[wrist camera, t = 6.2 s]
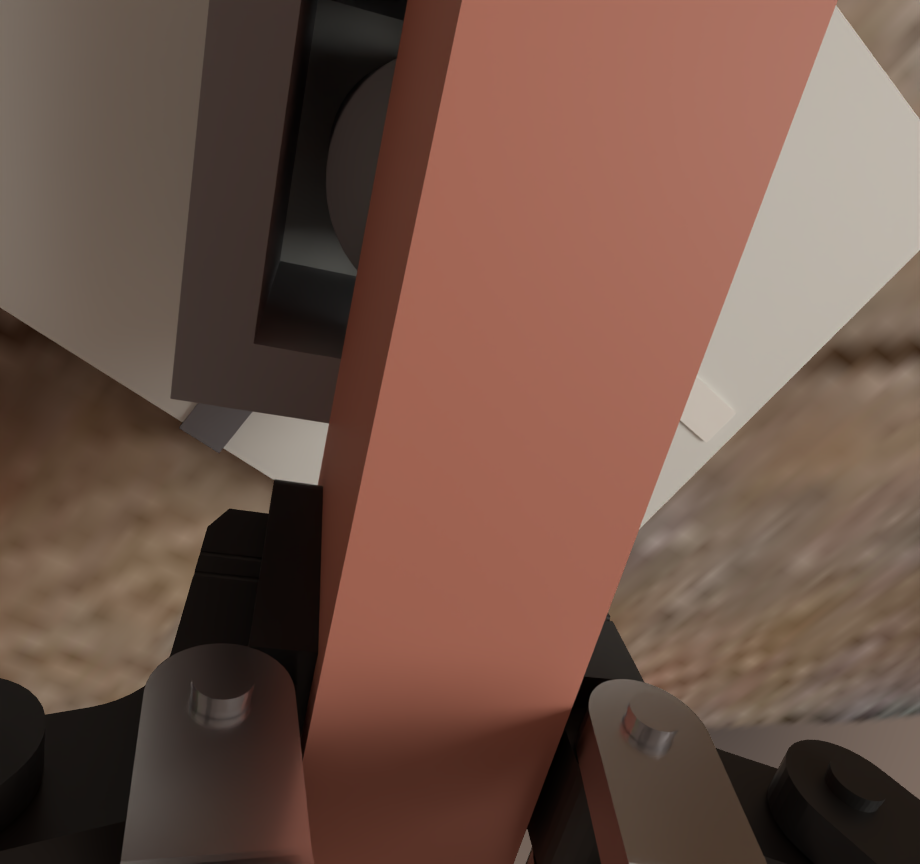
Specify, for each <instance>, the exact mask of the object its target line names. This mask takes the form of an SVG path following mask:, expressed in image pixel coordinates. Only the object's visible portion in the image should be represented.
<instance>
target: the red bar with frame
mask: <svg viewBox="0 0 920 864" xmlns="http://www.w3.org/2000/svg"><path fill="white" fill-rule="evenodd" d="M332 1H335V2H339V3H342V4H346V5H349V6H353V7H356V8H360V9H363V10H367V11H371V12H374V13H378V14H381V15H385V16H388V17H392V18H395V19H399V20H402V21H404V22H403V27H402V33H401V38H400V43H399V49H398V54H397V60H396V65H395V70H394V76H393V81H392V87H391V92H390V97H389V103H388V108H387V114H386V119H385V124H384V130H383V135H382V141H381V146H380V151H379V157H378V162H377V168H376V173H375V178H374V184H373V189H372V194H371V200H370V205H369V211H368V216H367V221H366V227H365V232H364V238H363V243H362V248H361V254H360V259H359V265H358V270H357V275H356V276H352V275H348V274H343V273H338V272H333V271H328V270H323V269H318V268H313V267H308V266H303V265H298V264H293V263H288V262H283V261H280V257H281V251H282V244H283V237H284V230H285V223H286V216H287V209H288V203H289V196H290V189H291V182H292V175H293V168H294V161H295V155H296V148H297V141H298V134H299V127H300V120H301V114H302V107H303V100H304V93H305V86H306V79H307V72H308V66H309V59H310V52H311V45H312V38H313V31H314V24H315V18H316V11H317V4H318V0H209V8H208V18H207V28H206V38H205V49H204V59H203V69H202V79H201V90H200V100H199V110H198V120H197V130H196V141H195V151H194V161H193V171H192V182H191V192H190V202H189V212H188V222H187V233H186V243H185V253H184V263H183V274H182V284H181V294H180V304H179V314H178V325H177V335H176V345H175V355H174V366H173V376H172V386H171V396H170V399H175V400H181V401H188V402H194V403H201V404H207V405H214V406H220V407H226V408H233V409H239V410H246V411H252V412H258V413H265V414H271V415H278V416H284V417H290V418H297V419H303V420H310V421H316V422H322V423H329V426H328V432H327V437H326V443H325V448H324V453H323V459H322V464H321V470H320V475H319V480H318V485H320V486H323V510H322V544H321V577H320V611H319V644H318V656H317V661H316V666H315V671H314V676H313V681H312V686H311V690H310V695H309V700H308V705H307V710H306V715H305V720H304V725H303V730H302V734H301V739H300V742H301V752H302V762H303V771H304V781H305V790H306V800H307V810H308V819H309V829H310V838H311V848H312V855H313V860H314V863H315V864H514V861H515V858H516V856H517V853H518V850H519V848H520V845H521V842H522V839H523V837H524V834H525V831H526V829H527V826H528V824H529V821H530V818H531V816H532V813H533V810H534V808H535V805H536V802H537V800H538V797H539V794H540V792H541V789H542V786H543V784H544V781H545V778H546V776H547V773H548V770H549V768H550V765H551V762H552V760H553V757H554V754H555V752H556V749H557V746H558V744H559V741H560V738H561V736H562V733H563V731H564V728H565V725H566V723H567V720H568V717H569V715H570V712H571V709H572V707H573V704H574V701H575V699H576V696H577V693H578V691H579V688H580V685H581V683H582V680H583V677H584V675H585V672H586V669H587V667H588V664H589V661H590V659H591V656H592V653H593V651H594V648H595V645H596V643H597V640H598V637H599V635H600V632H601V629H602V627H603V624H604V621H605V619H606V616H607V613H608V611H609V608H610V605H611V603H612V600H613V597H614V595H615V592H616V589H617V587H618V584H619V581H620V579H621V576H622V573H623V571H624V568H625V565H626V563H627V560H628V557H629V555H630V552H631V549H632V547H633V544H634V541H635V539H636V536H637V533H638V531H639V528H640V525H641V523H642V520H643V517H644V515H645V512H646V509H647V507H648V504H649V501H650V499H651V496H652V494H653V491H654V488H655V486H656V483H657V480H658V478H659V475H660V472H661V470H662V467H663V464H664V462H665V459H666V456H667V454H668V451H669V448H670V446H671V443H672V440H673V438H674V435H675V432H676V430H677V427H678V424H679V422H680V419H681V416H682V414H683V411H684V408H685V406H686V403H687V400H688V398H689V395H690V392H691V390H692V387H693V384H694V382H695V379H696V376H697V374H698V371H699V368H700V366H701V363H702V360H703V358H704V355H705V352H706V350H707V347H708V344H709V342H710V339H711V336H712V334H713V331H714V328H715V326H716V323H717V320H718V318H719V315H720V312H721V310H722V307H723V304H724V302H725V299H726V296H727V294H728V291H729V288H730V286H731V283H732V280H733V278H734V275H735V272H736V270H737V267H738V264H739V262H740V259H741V256H742V254H743V251H744V249H745V246H746V243H747V241H748V238H749V235H750V233H751V230H752V227H753V225H754V222H755V219H756V217H757V214H758V211H759V209H760V206H761V203H762V201H763V198H764V195H765V193H766V190H767V187H768V185H769V182H770V179H771V177H772V174H773V171H774V169H775V166H776V163H777V161H778V158H779V155H780V153H781V150H782V147H783V145H784V142H785V139H786V137H787V134H788V131H789V129H790V126H791V123H792V121H793V118H794V115H795V113H796V110H797V107H798V105H799V102H800V99H801V97H802V94H803V91H804V89H805V86H806V83H807V81H808V78H809V75H810V73H811V70H812V67H813V65H814V62H815V59H816V57H817V54H818V51H819V49H820V46H821V43H822V41H823V38H824V35H825V33H826V30H827V27H828V25H829V22H830V19H831V17H832V14H833V12H834V9H835V6H836V4H837V1H838V0H332Z"/></svg>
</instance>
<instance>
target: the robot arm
mask: <svg viewBox="0 0 920 864" xmlns="http://www.w3.org/2000/svg"><path fill="white" fill-rule="evenodd" d="M322 510H323V486H320V485H313V484H306V483H299V482H292V481H284V480H277V479H274V485H273V491H272V497H271V503H270V509H269V514H267V513H259V512H251V511H243V510H236V509H229V510H227V511H226V512H225V513H224V514H223V515H221V516H220V517H219V518H218V519H217V520H215V521H214V522H213V523H212V524H211V525H209V526H208V527H207V531H206V534H205V538H204V541H203V545H202V548H201V552H200V555H199V558H198V562H197V565H196V569H195V574H194V576H193V579H192V583H191V586H190V589H189V593H188V596H187V600H186V603H185V607H184V610H183V614H182V617H181V620H180V624H179V627H178V631H177V634H176V638H175V641H174V645H173V648H172V651H171V655H170V657H169V658H168V659H166V660H165V661H163V662H162V663H161V664H160V665H159V666H157V668H156V669H155V670H154V671H153V672H152V674H151V675H150V677H149V679H148V681H147V682H146V685H145V686H144V687H142V688H141V689H139V690H137V691H136V692H134V693H132V694H130V695H128V696H126V697H123V698H121V699H119V700H116V701H113V702H110V703H106V704H103V705H98V706H94V707H89V708H83V709H77V710H71V711H65V712H59V713H53V714H47V715H45V713H44V710H43V707H42V705H41V703H40V702H39V700H38V699H37V697H35V696H34V695H33V694H32V693H31V692H30V691H29V690H27V689H26V688H24V687H22V686H21V685H19V684H17V683H14V682H11V681H9V680H5V679H1V678H0V864H315V863H314V860H313V855H312V848H311V838H310V829H309V819H308V810H307V800H306V790H305V781H304V771H303V762H302V752H301V742H300V739H301V734H302V730H303V725H304V720H305V715H306V710H307V705H308V700H309V695H310V690H311V686H312V681H313V676H314V671H315V666H316V661H317V656H318V644H319V611H320V577H321V544H322ZM527 829H528V832H529V836H530V840H531V844H532V848H531V851H530V853H529V856H528V859H527V861H526V864H920V800H919V799H918V798H917V797H915V796H914V795H913V794H911V793H910V792H909V791H907V790H906V789H905V788H904V787H902V786H901V785H900V784H899V783H897V782H896V781H895V780H893V779H892V778H891V777H890V776H888V775H887V774H886V773H885V772H883V771H882V770H881V769H879V768H878V767H877V766H875V765H874V764H872V763H871V762H869V761H868V760H866V759H864V758H863V757H861V756H860V755H858V754H856V753H854V752H852V751H850V750H848V749H846V748H843V747H841V746H838V745H835V744H832V743H829V742H825V741H819V740H803V741H799V742H796V743H794V744H793V745H792V746H791V747H789V749H788V751H787V753H786V755H785V757H784V758H783V760H782V762H781V764H780V766H779V768H778V769H777V768H774V767H770V766H768V765H765V764H761V763H759V762H755V761H752V760H749V759H746V758H743V757H740V756H737V755H734V754H731V753H728V752H725V751H723V750H720V749H717V748H715V746H714V743H713V741H712V739H711V737H710V734H709V732H708V731H707V729H706V727H705V725H704V724H703V723H702V721H701V720H700V718H699V717H698V716H697V715H696V714H695V713H694V712H693V711H692V710H691V709H690V708H689V707H688V706H687V705H685V704H684V703H683V702H682V701H680V700H679V699H678V698H676V697H675V696H673V695H671V694H670V693H668V692H666V691H664V690H662V689H660V688H658V687H656V686H653V685H650V684H647V683H645V682H644V681H643V679H642V677H641V675H640V673H639V671H638V669H637V667H636V665H635V663H634V661H633V659H632V658H631V656H630V654H629V652H628V650H627V648H626V646H625V644H624V642H623V640H622V638H621V636H620V635H619V633H618V631H617V629H616V627H615V625H614V623H613V621H610V615H609V614H608V613H607V616H606V619H605V621H604V624H603V627H602V629H601V632H600V635H599V637H598V640H597V643H596V645H595V648H594V651H593V653H592V656H591V659H590V661H589V664H588V667H587V669H586V672H585V675H584V677H583V680H582V683H581V685H580V688H579V691H578V693H577V696H576V699H575V701H574V704H573V707H572V709H571V712H570V715H569V717H568V720H567V723H566V725H565V728H564V731H563V733H562V736H561V738H560V741H559V744H558V746H557V749H556V752H555V754H554V757H553V760H552V762H551V765H550V768H549V770H548V773H547V776H546V778H545V781H544V784H543V786H542V789H541V792H540V794H539V797H538V800H537V802H536V805H535V808H534V810H533V813H532V816H531V818H530V821H529V824H528V826H527Z"/></svg>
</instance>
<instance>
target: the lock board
mask: <svg viewBox="0 0 920 864" xmlns="http://www.w3.org/2000/svg"><path fill="white" fill-rule="evenodd" d="M208 8H209V0H0V308H2V309H3V310H5V311H6V312H8V313H10V314H11V315H13V316H14V317H16V318H17V319H19V320H21V321H22V322H24V323H25V324H27V325H29V326H30V327H32V328H33V329H35V330H37V331H38V332H40V333H41V334H43V335H44V336H46V337H48V338H49V339H51V340H52V341H54V342H56V343H57V344H59V345H60V346H62V347H64V348H65V349H67V350H68V351H70V352H71V353H73V354H75V355H76V356H78V357H79V358H81V359H83V360H84V361H86V362H87V363H89V364H91V365H92V366H94V367H95V368H97V369H98V370H100V371H102V372H103V373H105V374H106V375H108V376H110V377H111V378H113V379H114V380H116V381H117V382H119V383H121V384H122V385H124V386H125V387H127V388H129V389H130V390H132V391H133V392H135V393H137V394H138V395H140V396H141V397H143V398H144V399H146V400H148V401H149V402H151V403H152V404H154V405H156V406H157V407H159V408H160V409H162V410H164V411H165V412H167V413H168V414H170V415H171V416H173V417H175V418H176V419H178V420H179V421H181V422H183V423H182V424H181V425H180V427H179V428H180V429H181V430H183V431H184V432H186V433H188V434H189V435H191V436H192V437H194V438H196V439H197V440H199V441H200V442H202V443H204V444H205V445H207V446H208V447H210V448H212V449H213V450H215V451H216V452H218V453H220V452H221V450H222V449H223V448H224V449H225V450H227V451H229V452H230V453H232V454H233V455H235V456H237V457H238V458H240V459H241V460H243V461H245V462H246V463H248V464H249V465H251V466H252V467H254V468H256V469H257V470H259V471H260V472H262V473H264V474H265V475H267V476H268V477H270V478H271V479H273V480H274V479H277V480H284V481H292V482H299V483H306V484H313V485H318V480H319V475H320V470H321V464H322V459H323V453H324V448H325V443H326V437H327V432H328V426H329V423H322V422H316V421H310V420H303V419H297V418H290V417H284V416H278V415H271V414H265V413H258V412H252V411H246V410H239V409H233V408H226V407H220V406H214V405H207V404H201V403H194V402H188V401H181V400H175V399H170V396H171V386H172V376H173V366H174V355H175V345H176V335H177V325H178V314H179V304H180V294H181V284H182V274H183V263H184V253H185V243H186V233H187V222H188V212H189V202H190V192H191V182H192V171H193V161H194V151H195V141H196V130H197V120H198V110H199V100H200V90H201V79H202V69H203V59H204V49H205V38H206V28H207V18H208ZM403 22H404V21H402V20H399V19H395V18H392V17H388V16H385V15H381V14H378V13H374V12H371V11H367V10H363V9H360V8H356V7H353V6H349V5H346V4H342V3H339V2H335V1H332V0H318V4H317V11H316V18H315V24H314V31H313V38H312V45H311V52H310V59H309V66H308V72H307V79H306V86H305V93H304V100H303V107H302V114H301V120H300V127H299V134H298V141H297V148H296V155H295V161H294V168H293V175H292V182H291V189H290V196H289V203H288V209H287V216H286V223H285V230H284V237H283V244H282V251H281V257H280V261H283V262H288V263H293V264H298V265H303V266H308V267H313V268H318V269H323V270H328V271H333V272H338V273H343V274H348V275H352V276H356V275H357V270H358V265H359V259H360V254H361V248H362V243H363V238H364V232H365V227H366V221H367V216H368V211H369V205H370V200H371V194H372V189H373V184H374V178H375V173H376V168H377V162H378V157H379V151H380V146H381V141H382V135H383V130H384V124H385V119H386V114H387V108H388V103H389V97H390V92H391V87H392V81H393V76H394V70H395V65H396V60H397V54H398V49H399V43H400V38H401V33H402V27H403ZM919 250H920V119H919V118H918V116H917V115H916V114H915V112H914V111H913V109H912V108H911V107H910V105H909V104H908V103H907V101H906V100H905V99H904V97H903V96H902V94H901V93H900V92H899V90H898V89H897V88H896V86H895V85H894V84H893V82H892V81H891V80H890V78H889V77H888V75H887V74H886V73H885V71H884V70H883V69H882V67H881V66H880V65H879V63H878V62H877V60H876V59H875V58H874V56H873V55H872V54H871V52H870V51H869V50H868V48H867V47H866V45H865V44H864V43H863V41H862V40H861V39H860V37H859V36H858V35H857V33H856V32H855V30H854V29H853V28H852V26H851V25H850V24H849V22H848V21H847V20H846V18H845V17H844V15H843V14H842V13H841V11H840V10H839V9H838V7H837V6H835V9H834V12H833V14H832V17H831V19H830V22H829V25H828V27H827V30H826V33H825V35H824V38H823V41H822V43H821V46H820V49H819V51H818V54H817V57H816V59H815V62H814V65H813V67H812V70H811V73H810V75H809V78H808V81H807V83H806V86H805V89H804V91H803V94H802V97H801V99H800V102H799V105H798V107H797V110H796V113H795V115H794V118H793V121H792V123H791V126H790V129H789V131H788V134H787V137H786V139H785V142H784V145H783V147H782V150H781V153H780V155H779V158H778V161H777V163H776V166H775V169H774V171H773V174H772V177H771V179H770V182H769V185H768V187H767V190H766V193H765V195H764V198H763V201H762V203H761V206H760V209H759V211H758V214H757V217H756V219H755V222H754V225H753V227H752V230H751V233H750V235H749V238H748V241H747V243H746V246H745V249H744V251H743V254H742V256H741V259H740V262H739V264H738V267H737V270H736V272H735V275H734V278H733V280H732V283H731V286H730V288H729V291H728V294H727V296H726V299H725V302H724V304H723V307H722V310H721V312H720V315H719V318H718V320H717V323H716V326H715V328H714V331H713V334H712V336H711V339H710V342H709V344H708V347H707V350H706V352H705V355H704V358H703V360H702V363H701V366H700V368H699V371H698V374H697V376H696V379H695V382H694V384H693V387H692V390H691V392H690V395H689V398H688V400H687V403H686V406H685V408H684V411H683V414H682V416H681V419H680V422H679V424H678V427H677V430H676V432H675V435H674V438H673V440H672V443H671V446H670V448H669V451H668V454H667V456H666V459H665V462H664V464H663V467H662V470H661V472H660V475H659V478H658V480H657V483H656V486H655V488H654V491H653V494H652V496H651V499H650V501H649V504H648V507H647V509H646V512H645V515H644V517H643V520H642V523H641V525H640V528H641V527H642V526H643V525H644V524H645V523H646V522H647V521H648V520H649V519H650V518H651V517H652V516H653V515H654V514H655V513H656V512H657V511H658V510H659V509H660V508H661V507H662V506H663V505H664V504H665V503H666V502H667V501H668V500H669V499H670V498H671V497H672V496H673V495H674V494H675V493H676V492H677V491H678V490H679V489H680V488H681V487H682V486H683V485H684V484H685V483H686V482H687V481H688V480H689V479H690V478H691V477H692V476H693V475H694V474H695V473H696V472H697V471H698V470H699V469H700V468H701V467H702V466H703V465H704V464H705V463H706V462H707V461H708V460H709V459H710V458H711V457H712V456H713V455H714V454H715V453H716V452H717V451H718V450H719V449H720V448H721V447H722V446H723V445H724V444H725V443H726V442H727V441H728V440H729V439H730V438H731V437H732V436H733V435H734V434H735V433H736V432H737V431H738V430H739V429H740V428H741V427H742V426H743V425H744V424H745V423H746V422H747V421H748V420H749V419H750V418H751V417H752V416H753V415H754V414H755V413H756V412H757V411H758V410H759V409H760V408H761V407H762V406H763V405H764V404H765V403H766V402H767V401H768V400H769V399H770V398H772V397H773V396H774V395H775V394H776V393H777V392H778V391H779V390H780V389H781V388H782V387H783V386H784V385H785V384H786V383H787V382H788V381H789V380H790V379H791V378H792V377H793V376H794V375H795V374H796V373H797V372H798V371H799V370H800V369H801V368H802V367H803V366H804V365H805V364H806V363H807V362H808V361H809V360H810V359H811V358H812V357H813V356H814V355H815V354H816V353H817V352H818V351H819V350H820V349H821V348H822V347H823V346H824V345H825V344H826V343H827V342H828V341H829V340H830V339H831V338H832V337H833V336H834V335H835V334H836V333H837V332H838V331H839V330H840V329H841V328H842V327H843V326H844V325H845V324H846V323H847V322H848V321H849V320H850V319H851V318H852V317H853V316H854V315H855V314H856V313H857V312H858V311H859V310H860V309H861V308H862V307H863V306H864V305H865V304H866V303H867V302H868V301H869V300H870V299H871V298H872V297H873V296H874V295H875V294H876V293H877V292H878V291H879V290H880V289H881V288H882V287H883V286H884V285H885V284H886V283H887V282H888V281H889V280H890V279H891V278H892V277H893V276H894V275H895V274H896V273H897V272H898V271H899V270H900V269H901V268H902V267H903V266H904V265H905V264H906V263H907V262H908V261H909V260H910V259H911V258H912V257H913V256H914V255H915V254H916V253H917V252H918V251H919ZM640 528H639V529H640Z"/></svg>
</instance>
